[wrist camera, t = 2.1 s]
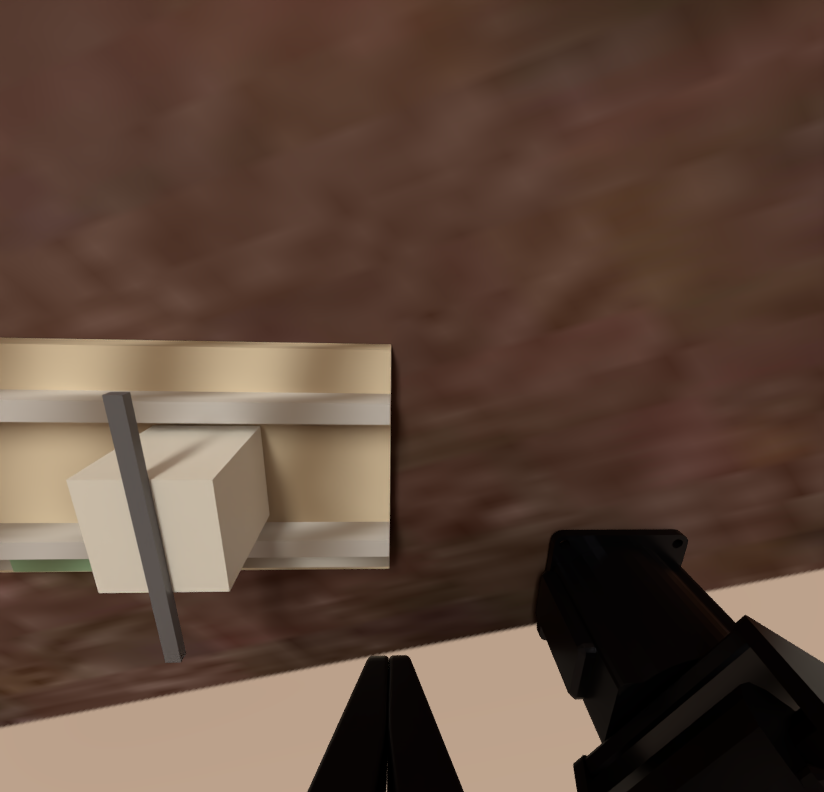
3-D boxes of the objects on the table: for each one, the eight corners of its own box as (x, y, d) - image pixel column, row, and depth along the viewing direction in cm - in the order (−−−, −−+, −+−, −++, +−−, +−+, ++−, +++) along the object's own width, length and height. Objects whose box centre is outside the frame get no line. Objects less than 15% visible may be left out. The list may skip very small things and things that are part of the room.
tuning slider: (253, 359, 14) (193, 396, 10) (275, 565, 17) (235, 661, 13) (139, 358, 14) (29, 394, 10) (181, 566, 16) (110, 663, 12)
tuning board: (391, 344, 15) (390, 357, 13) (389, 550, 18) (388, 589, 16) (-83, 336, 14) (-174, 348, 12) (-2, 552, 17) (-61, 595, 15)
